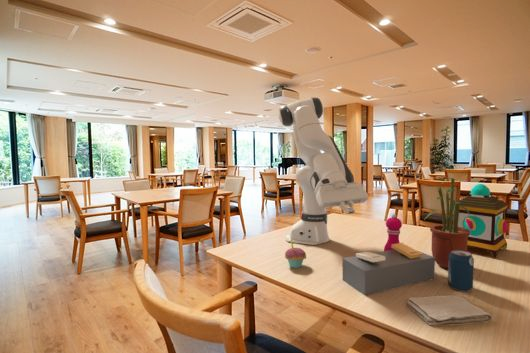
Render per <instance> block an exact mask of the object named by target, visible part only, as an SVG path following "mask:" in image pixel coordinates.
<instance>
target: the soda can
mask: <svg viewBox="0 0 530 353" xmlns="http://www.w3.org/2000/svg"><path fill="white" fill-rule="evenodd" d="M474 266H475V258H474V257H473V254H472V252H471V251H468V250H467V251H464V250H451V253H450V254H449V263H448V269H447V270H448V271H447V283H448V285H449V287H450V288H451V289H453V290H456V291H458V292H470V291H471V289H473V287H474V270H475V269H474V268H475V267H474Z"/></svg>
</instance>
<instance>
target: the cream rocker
mask: <svg viewBox="0 0 530 353" xmlns="http://www.w3.org/2000/svg"><path fill="white" fill-rule="evenodd" d="M374 253H375V252H372V251H371V252H370V251H363V252H357V253H355V256H356V257H358V258H361V259H364V260H367V261H371V262H378V261H383V260H385V256H382V255H378V254H374Z"/></svg>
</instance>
